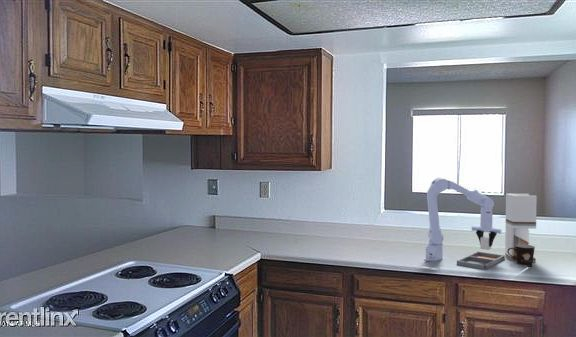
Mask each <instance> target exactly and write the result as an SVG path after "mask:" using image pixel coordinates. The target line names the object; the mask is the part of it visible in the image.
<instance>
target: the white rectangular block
mask: <svg viewBox="0 0 576 337" xmlns="http://www.w3.org/2000/svg"><path fill="white" fill-rule="evenodd" d="M479 245H480V247H479V249H481V250H487V251H489V250H490V249H492V246H489V236H487V235H486V236H484V235H483V236H482V237H480V241H479Z"/></svg>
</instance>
